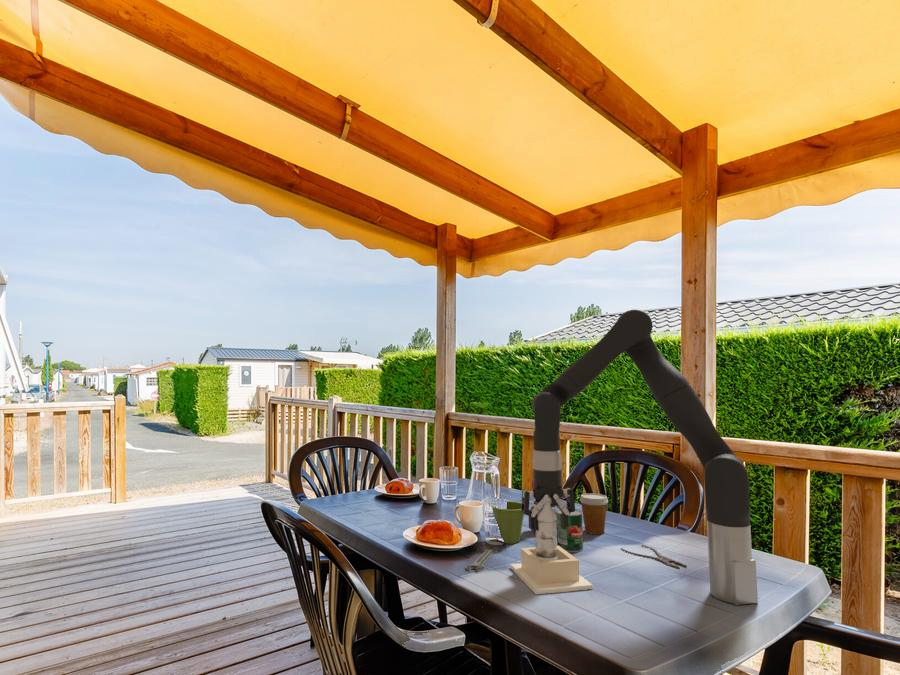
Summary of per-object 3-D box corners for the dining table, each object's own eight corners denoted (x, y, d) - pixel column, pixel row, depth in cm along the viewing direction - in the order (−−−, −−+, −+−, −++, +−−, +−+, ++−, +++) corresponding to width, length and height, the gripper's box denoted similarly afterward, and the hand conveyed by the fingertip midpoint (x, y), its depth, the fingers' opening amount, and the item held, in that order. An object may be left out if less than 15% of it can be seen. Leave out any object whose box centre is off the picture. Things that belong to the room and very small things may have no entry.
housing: (592, 589, 123) (591, 563, 124) (535, 594, 120) (535, 568, 120) (561, 563, 140) (560, 541, 141) (510, 567, 137) (510, 545, 138)
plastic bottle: (563, 573, 131) (562, 495, 132) (550, 580, 126) (549, 499, 128) (542, 567, 135) (541, 491, 137) (528, 574, 130) (528, 495, 132)
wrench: (464, 571, 135) (464, 567, 135) (485, 549, 154) (485, 545, 154) (481, 573, 134) (481, 569, 134) (500, 550, 152) (500, 546, 152)
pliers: (637, 542, 158) (699, 560, 142) (637, 545, 158) (699, 563, 142) (618, 548, 152) (680, 567, 136) (618, 551, 152) (680, 570, 136)
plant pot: (502, 548, 153) (501, 511, 155) (484, 537, 164) (484, 502, 165) (534, 543, 158) (534, 507, 159) (515, 533, 169) (514, 499, 170)
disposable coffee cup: (578, 527, 176) (578, 492, 177) (606, 528, 175) (605, 493, 176) (582, 535, 167) (581, 498, 168) (611, 536, 166) (610, 499, 167)
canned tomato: (560, 542, 159) (559, 507, 160) (585, 546, 156) (584, 510, 157) (554, 550, 152) (553, 513, 153) (580, 554, 149) (579, 516, 150)
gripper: (527, 470, 128) (528, 536, 126) (578, 468, 131) (580, 532, 129) (517, 466, 135) (518, 527, 133) (565, 464, 138) (567, 524, 136)
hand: (548, 529), depth 131 cm, fingers open, 8 cm apart
